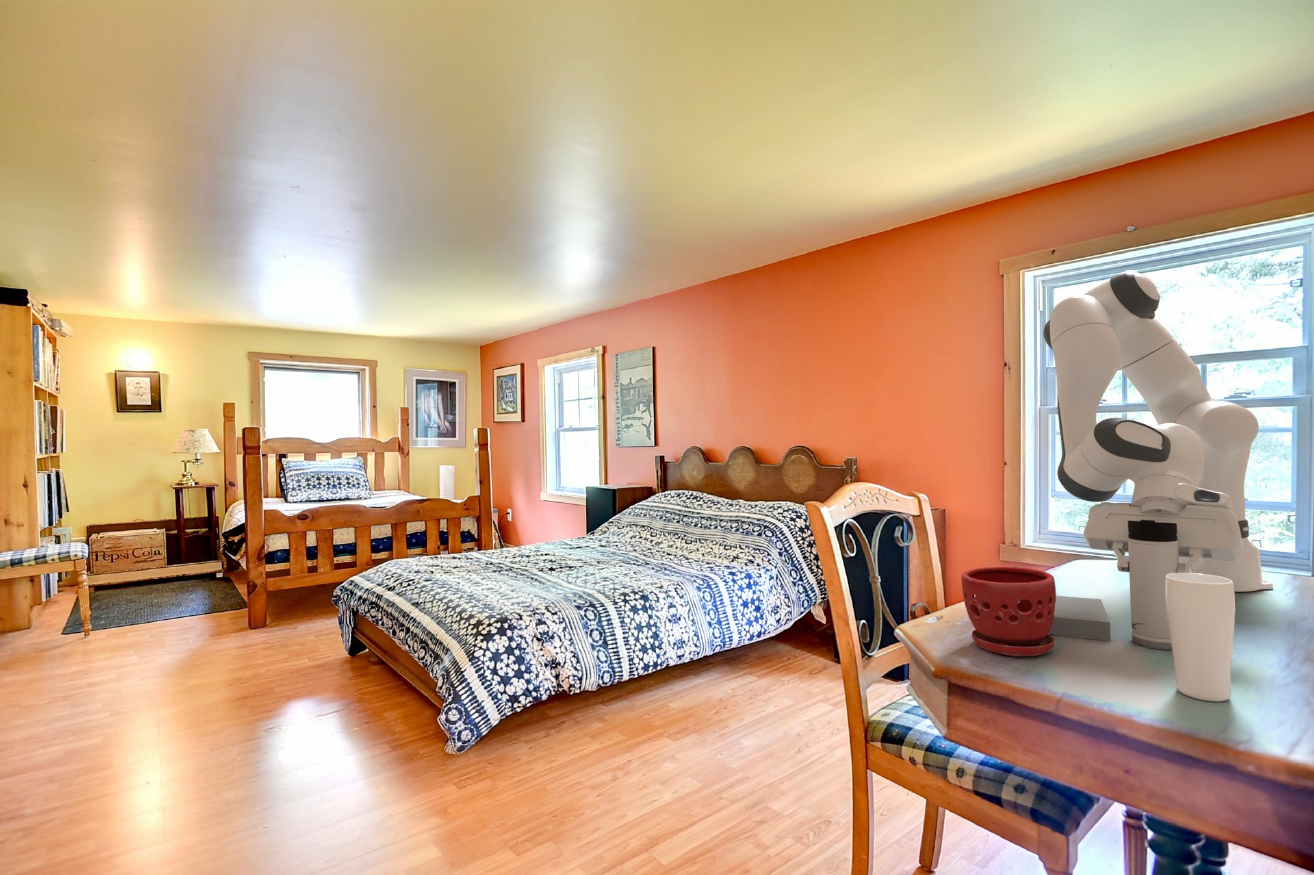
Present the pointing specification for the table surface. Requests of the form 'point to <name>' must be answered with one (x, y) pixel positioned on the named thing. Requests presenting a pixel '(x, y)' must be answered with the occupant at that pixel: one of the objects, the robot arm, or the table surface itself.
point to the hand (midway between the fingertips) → (1152, 573)
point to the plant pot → (1010, 609)
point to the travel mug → (1151, 580)
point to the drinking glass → (1201, 633)
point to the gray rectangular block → (1080, 618)
